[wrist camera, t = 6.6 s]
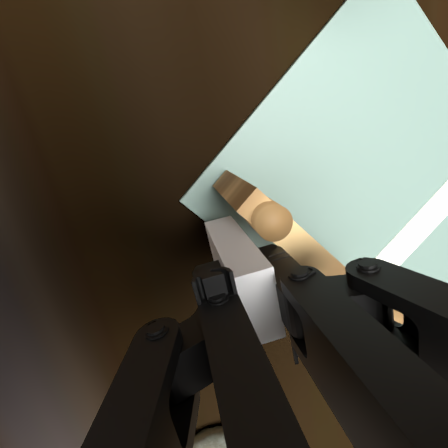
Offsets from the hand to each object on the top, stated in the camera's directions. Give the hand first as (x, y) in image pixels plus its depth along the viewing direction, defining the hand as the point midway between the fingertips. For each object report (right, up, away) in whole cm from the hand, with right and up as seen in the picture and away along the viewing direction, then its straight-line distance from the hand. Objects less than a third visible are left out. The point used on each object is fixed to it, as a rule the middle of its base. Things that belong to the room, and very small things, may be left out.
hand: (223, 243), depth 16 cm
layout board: (+13, +1, +6) cm, 14 cm away
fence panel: (+4, 0, +3) cm, 5 cm away
